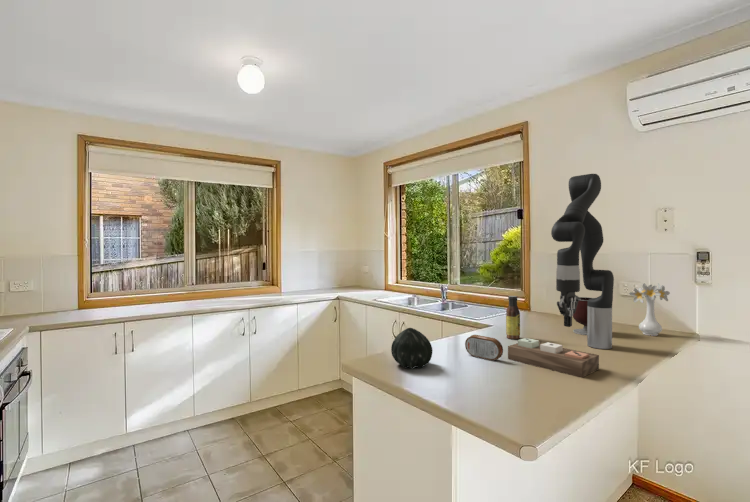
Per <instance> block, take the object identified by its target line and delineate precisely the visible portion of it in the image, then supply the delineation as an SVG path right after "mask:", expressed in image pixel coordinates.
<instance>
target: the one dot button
mask: <svg viewBox="0 0 750 502" xmlns="http://www.w3.org/2000/svg"><path fill="white" fill-rule="evenodd" d="M563 348H564V346H563V344H558V343H553V342H548V341H547V342H545V343H542V344H541V345H540V350H541V351H546V352H550V353H555V354H556V353H559V352H562V351H563Z"/></svg>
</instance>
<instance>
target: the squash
mask: <svg viewBox="0 0 750 502" xmlns="http://www.w3.org/2000/svg"><path fill="white" fill-rule="evenodd" d="M390 347H391V350H390V351H391V356H392V358H393V359H394V360H395V362H396V363H398V365H400V366H401V367H402V368H403V369H406V368H405V367H407V368H409V369H411V368H413V369H414V368H418V367H419V368H423V367H424V366H426V365H428V364H429V363H430V362H431V360H432V357H433V351H434V350H433V346H432V343H431V342H430V340H429V338H427V336H425V334H423V333H422V332H421V331H419V330H418V329H415V328H413V327H407V328H405V329H404V330H402V331H401V332H399V333H398V334H397V335H396V337H394V339H393V341H392V343H391V346H390Z"/></svg>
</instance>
